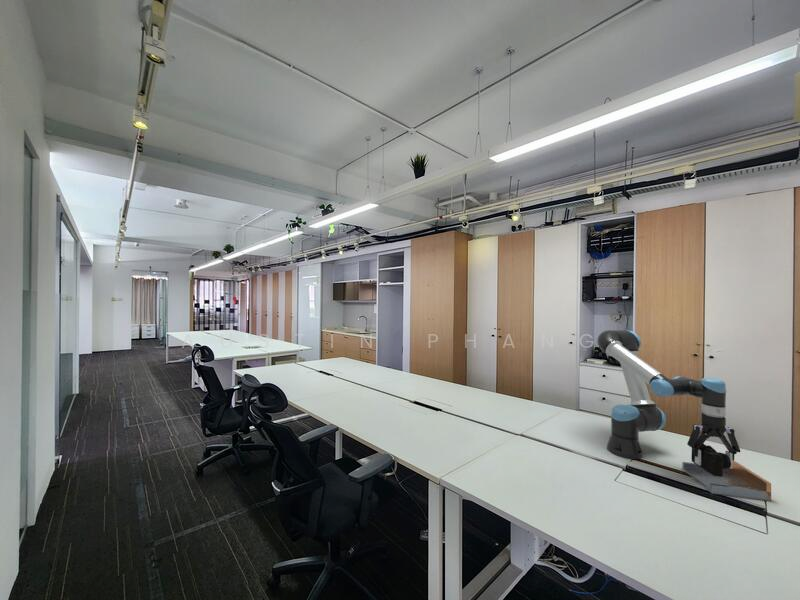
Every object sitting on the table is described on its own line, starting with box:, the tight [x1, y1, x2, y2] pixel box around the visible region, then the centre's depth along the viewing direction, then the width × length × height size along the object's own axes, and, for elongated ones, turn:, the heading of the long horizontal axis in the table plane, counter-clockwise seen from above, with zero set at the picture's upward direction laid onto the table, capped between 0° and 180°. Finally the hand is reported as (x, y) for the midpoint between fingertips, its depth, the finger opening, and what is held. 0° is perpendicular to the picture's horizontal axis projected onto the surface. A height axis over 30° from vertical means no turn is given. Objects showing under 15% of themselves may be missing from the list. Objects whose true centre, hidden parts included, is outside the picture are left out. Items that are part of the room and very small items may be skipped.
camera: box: [691, 443, 731, 477], centre depth 138 cm, size 14×11×10 cm
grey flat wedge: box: [681, 459, 772, 502], centre depth 138 cm, size 20×19×7 cm
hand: (713, 465), depth 138 cm, fingers closed on camera, 10 cm apart
